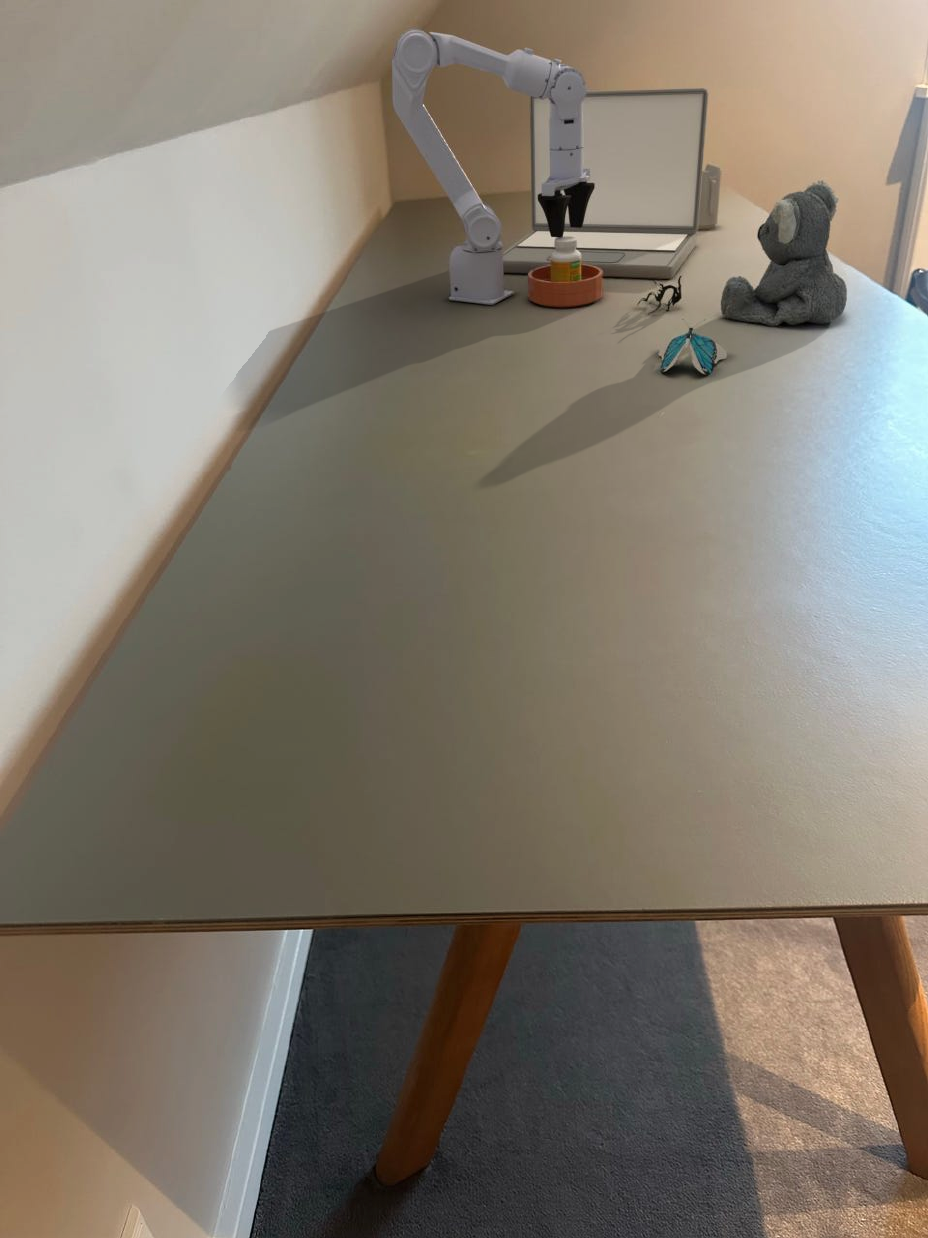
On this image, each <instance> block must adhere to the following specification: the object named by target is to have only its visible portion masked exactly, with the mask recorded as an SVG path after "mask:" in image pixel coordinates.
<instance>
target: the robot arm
mask: <svg viewBox="0 0 928 1238" xmlns="http://www.w3.org/2000/svg"><path fill="white" fill-rule="evenodd" d="M428 33H429V34H430V35H429V34H428ZM428 33H426V32H425V31H423V29H419V28H410V29H407V30H405V31H404V32H403V33H401V35H400V36H399V37H398V39H397V40H396V44H395V48H394V51H393V55H392V59H391V70H392V71H391V72H392V74H391V76H392V78H391V79H392V106H393V108H394V112H395V113H396V115H397V117H398V118H399V119H400V121H401V124H402V125H403V127H404V128H405V130H406V131H407V133H408V134H409V136H410V137H411V140H412V141H413V143H414V144H415V145H416V147H417V149H418V151H419V152H420V153H421V155H422V157H423V159H425V162H426V164H427V165H428V167H429V168H430V170H431V171H432V173H433V175H434V176H435V179H437V181H438V183H439V184H440V186H441V188H442V189H443V191H444V192H445V194H446V195H447V198H448V199H449V200H450V202H451V204H452V205H453V207H454V209H455V211H456V212H457V214H458V215H459V218H460V219H461V226H462V228H463V232H464V233H465V236H466V238H465V240H464V242H463V243H462V244H461V245H457V246H455V247H454V248H453V249H452V250H451V253H450V256H449V263H448V268H449V282H450V296H449V297H448V300H449V301H453V302H454V301H455V302H463V303H472V304H479V305H488V306H493V305H496V304H497V303H499V302H501V301H503V300H505V299H507V298H508V297H510V296H512V295H514V290H507V289H505V277H504V276H505V273H504V272H503V252H504V249H503V248H504V246H503V242H502V241H500V240H501V238H502V235H503V225H502V223H501V221H500V219H499V218H498V216H497V214H496V212H495V210H494V208H493V207H492V206H491V205H489V204H487V203H486V202H484V201H483V200H482V199H481V197H480V195H479V194H478V192H477V190H476V189H475V188H474V186H473V184H472V183H471V181H470V179H469V178H468V176H467V174H466V173H465V171H464V169H463V167H462V166H461V165H460V163H459V161H458V159H457V157H456V156H455V154H454V153H453V150H452V149H451V148H450V146H449V144H448V143H447V141H446V140H445V138H444V136H443V134H442V133H441V131H440V129H439V128H438V126H437V125H436V123H435V121H434V120H433V118H432V116H431V114H430V112H429V111H428V110H427V108H426V106H425V105H424V96H425V92H426V87H427V81H428V79H429V77H430V75H431V74H432V71H433V70H434V68H435V66H436V65H437V66H438V67H439V68H445V67H447V66H448V67H449V66H451V65H454V64H459V65H462V66H466V67H468V68H469V67H470V68H473V69H476V70H479V71H482V72H486V73H489V74H492V75H496V76H499V77H501V78H502V79H503V82H504V85H505V86H506V89H509V90H512V91H515V92H517V93H521V94H524V95H527V96H533V97H536V98H539V99H542V100H544V99H546V98H549V100H550V101H551V102H550V118H549V141H550V176H549V178H548V179H547V180H546V181H545V182H544V183H542V193H540V194H538V201H539V203H540V205H541V207H542V209H543V211H544V213H545V216H546V219H547V223H548V227H549V231H550V235H551V237H559V238H561V237H563V234H564V227H565V216H566V210H567V206H568V213H569V222H570V227H573V228H582V226H583V222H584V217H585V213H586V208H587V205H588V202H589V199H590V196H591V194H592V192H593V190H594V188H595V183H587V181H589V180H590V169H583V116H582V110H583V105H582V101H583V100H584V98H585V96H586V93H587V91H588V86H587V85H586V80H585V77H584V75H583V74H582V72H581V71H580V70H578V69H576V68H574V67H572V66H568V64H567V63H562V60H561V59H557V58H554V59H553V60H550V59H549V58H545V57H542V56H539V55H537V54H534V50H533V49H531V48H528V47H525V48H524V50H522V49H516V50H514V51H513V52H511V53H510V54H507V55H506V54H503V53H501V52H498V51H496V50H493V49H490V48H487V47H485V46H482V45H479V44H477V43H474V42H471V41H469V40H466V39H463V38H461V37H458V36H455V35H453V34H448V33H447V34H446V33H441V32H440V33H439V32H433V31H429V32H428ZM561 63H562V64H561ZM562 190H564V193H565V195H562V193H561V191H562Z"/></svg>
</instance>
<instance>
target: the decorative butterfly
mask: <svg viewBox="0 0 928 1238" xmlns="http://www.w3.org/2000/svg"><path fill="white" fill-rule="evenodd" d="M681 320H683V321H684V319H683V318H682V319H681ZM704 321H706V319H705V318H704V319H703V320H702V321H700V322H699V323H697V324H696V325H695V326H693V327H691V326H690V327H688V332H686V333H684V334H681V335H678V336H676V337H674V338H673V339H671V340H670V341H668V342H667V343H665V344H664V345H663V346H662V347H661V348H660V349H659V351H658V356H659V357H661V361H662V363H661V365H660V372H661V373H664V372H667V371H668V370H669V369H670V368H672V367H673V366H674V365H675V363H676V362H677V361H678V359H679V357H680V354H681V353H682V352H683V349H685V350H687V348H688V347H689V349H690V354H691V362H692V365H693V366H694V368H695V369H696V370H697V371H698V372H700V373H701V374H703V375H706V376H709V375H710V374H712V373H713V371H714V364H717V363H718V361H720V360H725V359H727V358H728V353H727V351H726V350H725V348H724V347H723V346H722V345H720V344H718V343H717V342H715V341H714V340H713V339H711V338H709V337H706V336H702V335H700V334H698V333H694V332H693V331H694V328H695V327H696V326H697V325H699V324H700V323H702V322H704ZM685 323H686V325H687V326H689V324H687V322H685Z"/></svg>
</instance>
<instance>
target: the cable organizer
mask: <svg viewBox="0 0 928 1238" xmlns="http://www.w3.org/2000/svg"><path fill="white" fill-rule="evenodd" d="M722 172H723V168H722V167H719V166H715V165H713V164H710V163H706V166H705V168H704V170H702V183H701V196H700V209H699V222H698V230H709V229H712V228H714V227H715V226H716V225H717V223H718V222H719V221H718V219H719V207H720V198H721V197H720V196H721V187H722V185H721V184H722Z"/></svg>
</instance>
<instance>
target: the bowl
mask: <svg viewBox="0 0 928 1238" xmlns="http://www.w3.org/2000/svg"><path fill="white" fill-rule="evenodd" d="M603 286H604V277H603V271H602V270H601V268H598V267H596V266H592V265H587V264H581V280H580V281H571V282H551V265H547V266H542V267H539V268H535V269H533V270H531V271H530V272H529V273H528V274H527V298H528V299H529V301H531V302H533V303H535V304H538V305H540V306H544V307H548V308H573V307H574V308H576V307H582V306H585V305H590V304H592V303H594V302H596V301H598V300H599V299H601V298H602V296H603V293H604V292H603V288H604V287H603Z"/></svg>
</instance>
